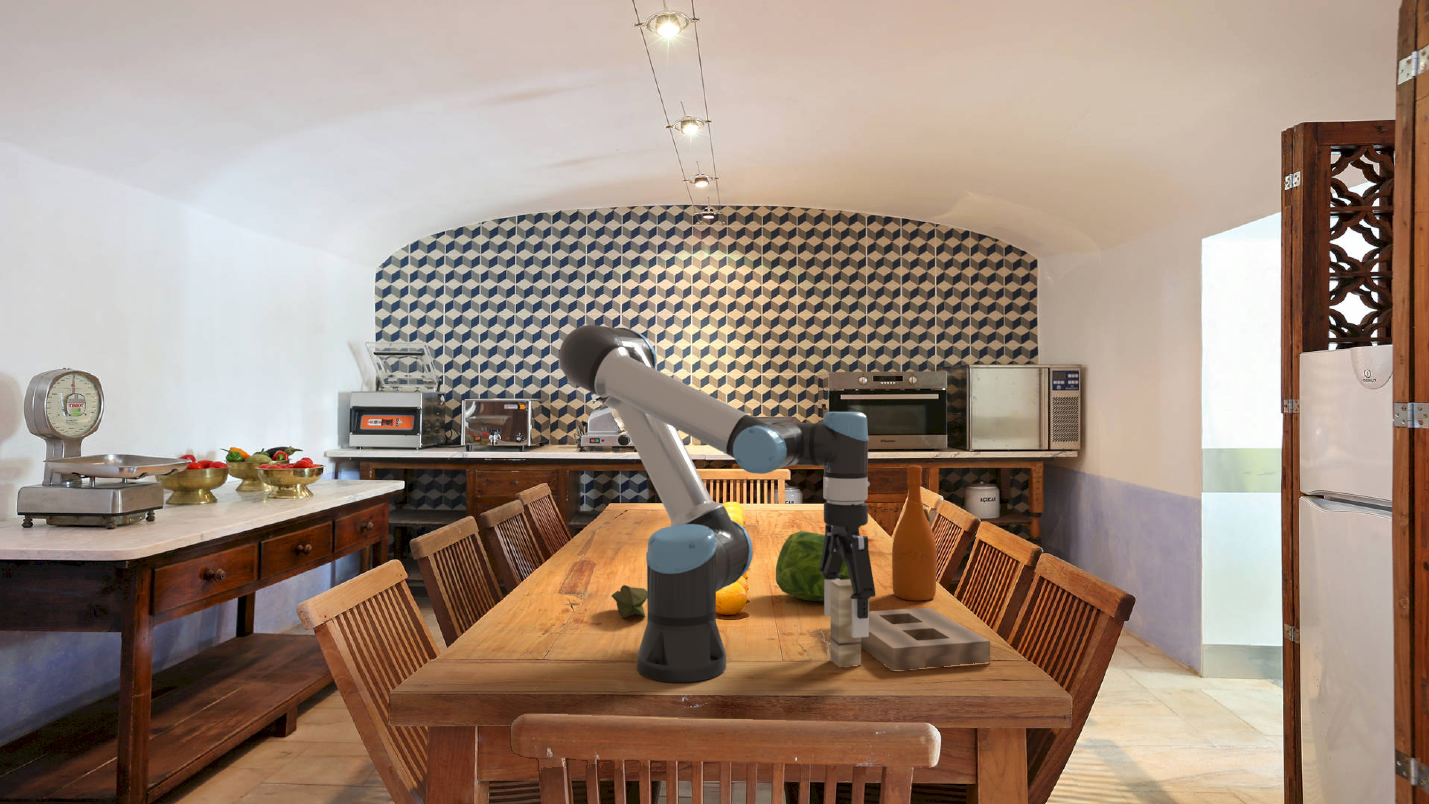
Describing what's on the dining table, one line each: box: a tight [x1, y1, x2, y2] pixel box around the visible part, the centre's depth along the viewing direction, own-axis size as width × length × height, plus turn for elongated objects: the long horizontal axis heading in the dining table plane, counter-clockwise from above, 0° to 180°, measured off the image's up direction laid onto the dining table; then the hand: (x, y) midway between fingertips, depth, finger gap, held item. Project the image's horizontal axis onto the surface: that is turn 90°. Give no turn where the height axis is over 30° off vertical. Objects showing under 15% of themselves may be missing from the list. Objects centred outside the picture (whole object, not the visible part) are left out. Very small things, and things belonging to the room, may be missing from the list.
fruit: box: [611, 584, 647, 619], centre depth 171 cm, size 11×12×7 cm
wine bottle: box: [891, 464, 938, 602], centre depth 187 cm, size 10×10×30 cm
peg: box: [829, 579, 862, 668], centre depth 142 cm, size 4×4×14 cm
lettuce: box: [775, 530, 850, 603], centre depth 184 cm, size 16×21×15 cm
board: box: [861, 607, 991, 671], centre depth 150 cm, size 18×22×4 cm
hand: (845, 625), depth 142 cm, fingers open, 12 cm apart
